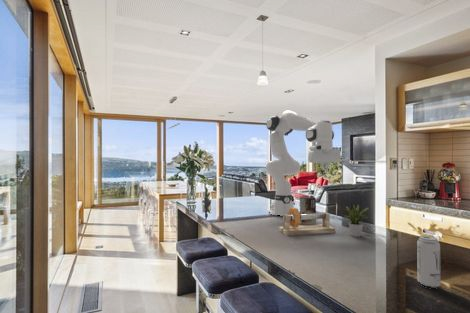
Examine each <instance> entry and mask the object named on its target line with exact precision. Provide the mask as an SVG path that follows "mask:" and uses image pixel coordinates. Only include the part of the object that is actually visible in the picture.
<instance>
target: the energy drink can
mask: <svg viewBox="0 0 470 313" xmlns="http://www.w3.org/2000/svg"><path fill="white" fill-rule="evenodd" d="M438 240H439V239H438V238H437V237H435V236H432V235H419V238H418V239H417V240H416V241H417V242H416V247H417V248H416V252H417V253H416V258H417V259H416V260H417V261H416V262H417V263H416V265H417V266H416V267H417V272H416V274H417V275H416V276H417V282H420V283H421V284H423V285H425V286H431V287H438V288H439V287H440V286H441V243H440V242H439V241H438Z"/></svg>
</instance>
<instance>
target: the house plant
mask: <svg viewBox="0 0 470 313" xmlns="http://www.w3.org/2000/svg"><path fill="white" fill-rule="evenodd" d="M352 204H353V208H352V209H350V207H348V206H346V205H345V208H346V210H347V213H348V214H349V215H345V217H346V218H348V219H349V220H350V221H349V222H348V230H349V234H350V236H352V237H356V238H357V237H361V236H362V234H363V233H362V232H363V226H364V223H362V222H361V220H365V219H367V220H369V219H368V218H369V217H368V216H367V217H366V216H365V214H363V213H365V212H366V211H367V210H368V207H366V208H363V210H361V211H360V205H359V204H357V206H356V207H355V204H354V203H352ZM359 211H360V212H359Z"/></svg>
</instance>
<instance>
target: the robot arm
mask: <svg viewBox="0 0 470 313" xmlns="http://www.w3.org/2000/svg"><path fill="white" fill-rule="evenodd" d="M265 125H266V129H267V130H268V131H271V132H270V134H269V144H270V146H269V147H270V150H271V154H272V156H273V157H274V158H275V159H273V160H270V161H268V162H267V164H266V166H265V171H266V173H267V174H268V175H269V176H271V178H272V179H273V181H274V185H275V186H274V187H275V194H274V200H273V201H272V203H271V204H270V205H269V208H270V209H268V210H267V212H268V211H269V212H270V213H269V212H268V213H269V214H270V215H271V214H272V215H271V216H277V215H280V216H279V217H283V214H287V215H288V211H289V209H290V208H295V204H294V202H293V201H292V200H293V195H292V183H291V182H289V181H288V180H286V178H285V176H295V175H298V174H299V173H300V172H301V168H302V166H301V164H300V162H299V161H298V160H296V159H294V158H293V157H292V156H291V154H290V153H289V151H288V148H287V146H286V141H285V136H289V134H291V133H292V132H293V131H299V132H300V131H302V132H303V131H304V132H305V138H306V139H305V140H307V141H308V143H316V144H314V145H311V146H309V148H308V149H309V151H308V156H307V158H308V159H307V160H308V163H313V164H314V163H316V164H317V163H319V165H320V166H321V170H322V171H328V170H329V167H330V164H331V163H341V161H342V156H341V155H342V154H341V149H340V148H339V147H338V146H335V147H334V146H333V145H334V144H333V139H335V138H334V137H335V132H334V129H333V124H332V122H331V121H330V120H323V119H322V120H321V119H320V120H318V121H317V122H313V121H311V120H309V119H307V118H305V117H304V116H302V115H300V114H299V113H297V112H295V111H292V110H285V111H284V112H283V113H282V114H281V116H278V115H275V116H270V117H268V119H267V120H266V123H265Z"/></svg>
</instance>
